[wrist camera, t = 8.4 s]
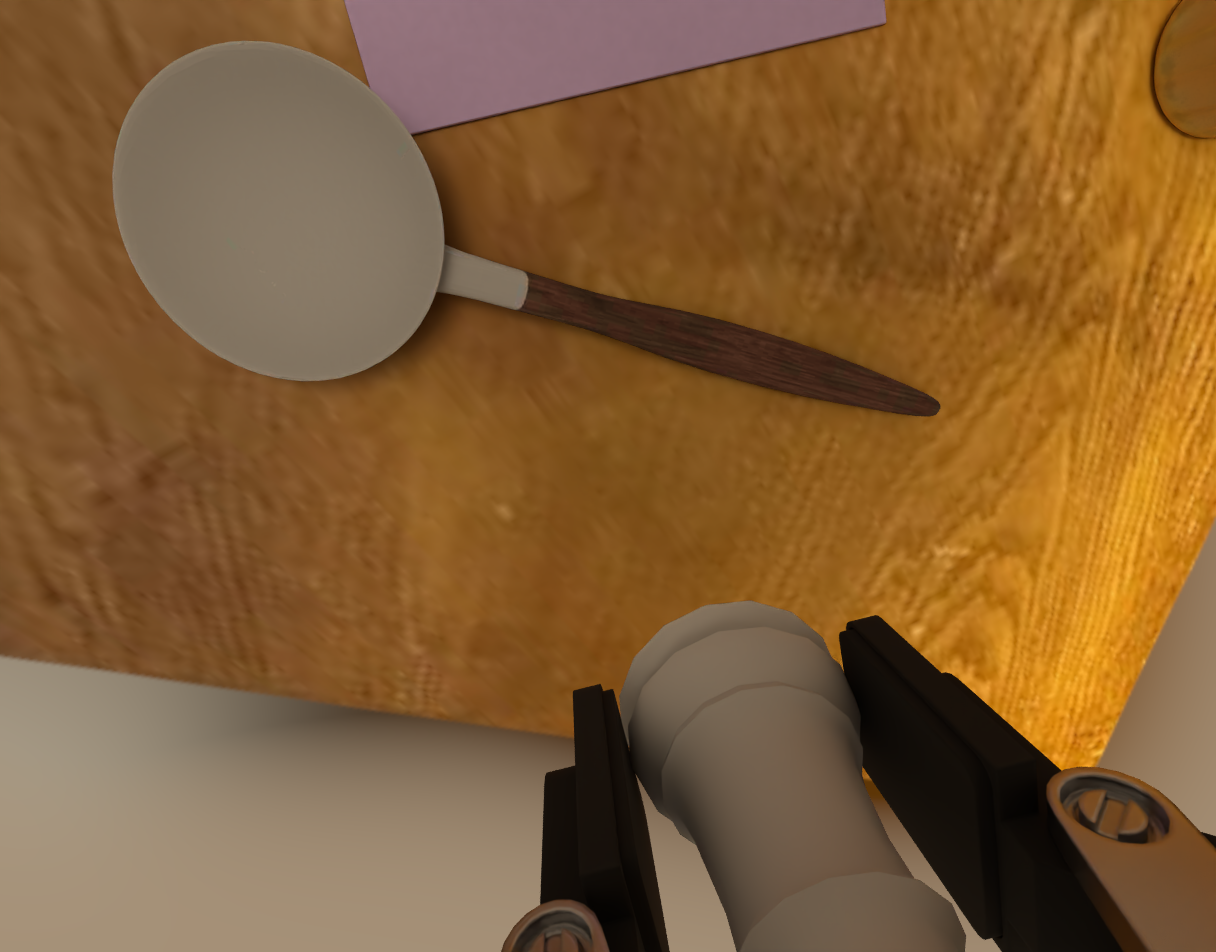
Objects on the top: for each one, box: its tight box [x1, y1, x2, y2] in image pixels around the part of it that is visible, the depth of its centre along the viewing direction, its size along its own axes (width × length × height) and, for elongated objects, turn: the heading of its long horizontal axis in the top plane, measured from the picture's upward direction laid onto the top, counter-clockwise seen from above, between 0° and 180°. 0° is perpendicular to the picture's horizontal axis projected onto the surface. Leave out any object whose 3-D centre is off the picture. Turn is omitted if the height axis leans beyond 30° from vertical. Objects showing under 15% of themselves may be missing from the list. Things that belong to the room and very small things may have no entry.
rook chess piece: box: [619, 601, 966, 952], centre depth 8 cm, size 4×4×8 cm
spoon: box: [113, 41, 940, 416], centre depth 24 cm, size 11×33×3 cm, turn 75°
